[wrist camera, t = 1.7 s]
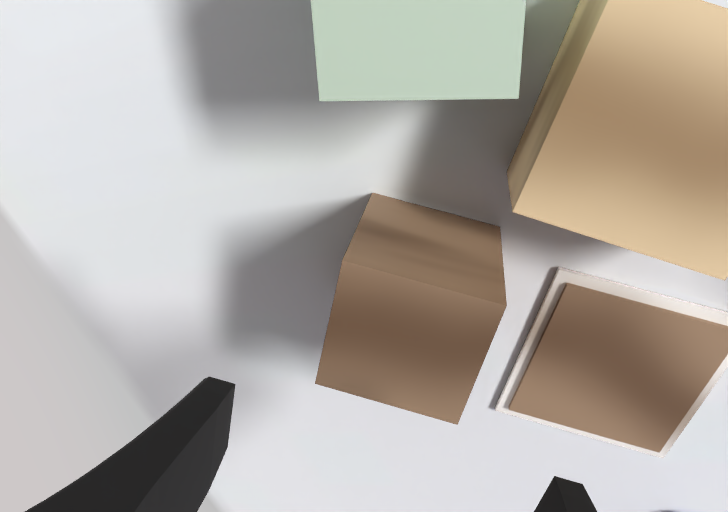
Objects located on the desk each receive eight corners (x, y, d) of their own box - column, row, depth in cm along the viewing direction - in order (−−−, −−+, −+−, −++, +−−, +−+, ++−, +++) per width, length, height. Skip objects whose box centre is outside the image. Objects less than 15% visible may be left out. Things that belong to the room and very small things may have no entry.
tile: (661, 454, 22) (664, 462, 22) (495, 407, 23) (495, 414, 22) (755, 319, 19) (761, 326, 19) (558, 266, 19) (560, 272, 19)
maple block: (683, 225, 18) (725, 280, 15) (506, 169, 18) (512, 211, 15) (803, 36, 15) (885, 57, 12) (590, -30, 15) (619, -26, 12)
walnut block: (461, 329, 21) (457, 424, 17) (347, 297, 22) (314, 383, 17) (499, 226, 19) (506, 305, 15) (372, 191, 19) (342, 260, 15)
